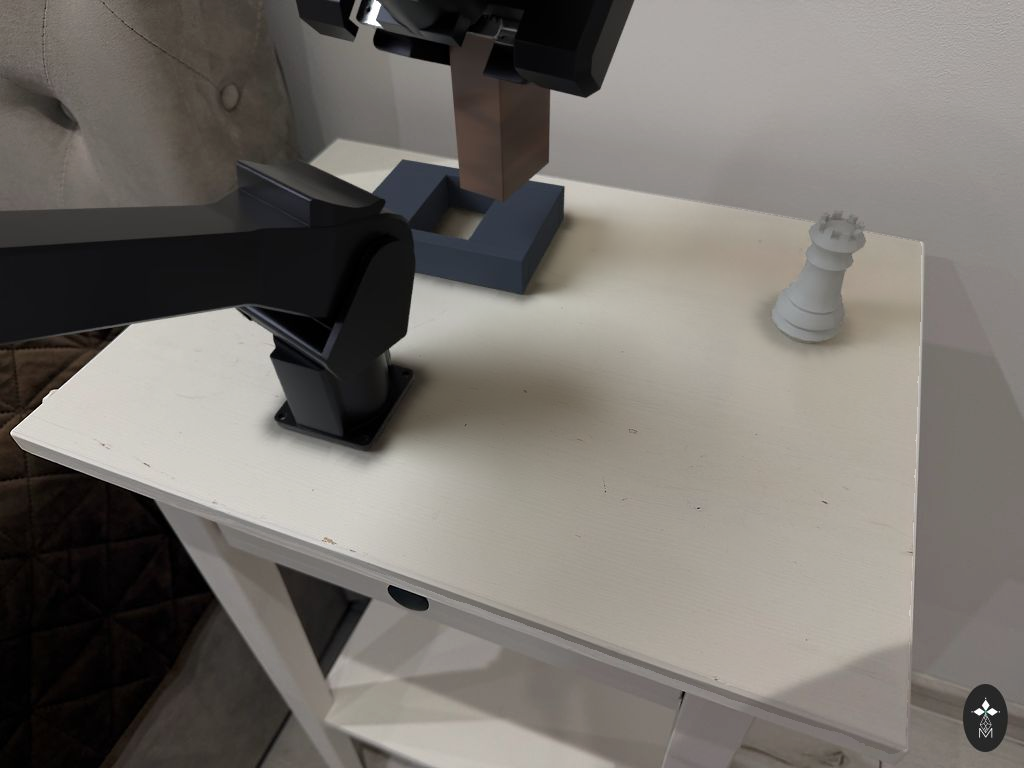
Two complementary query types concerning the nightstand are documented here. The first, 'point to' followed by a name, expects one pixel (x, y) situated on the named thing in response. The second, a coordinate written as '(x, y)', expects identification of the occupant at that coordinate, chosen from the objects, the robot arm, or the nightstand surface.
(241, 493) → the nightstand surface
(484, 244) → the blue rectangular frame
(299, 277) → the robot arm
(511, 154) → the brown wooden block
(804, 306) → the rook chess piece
